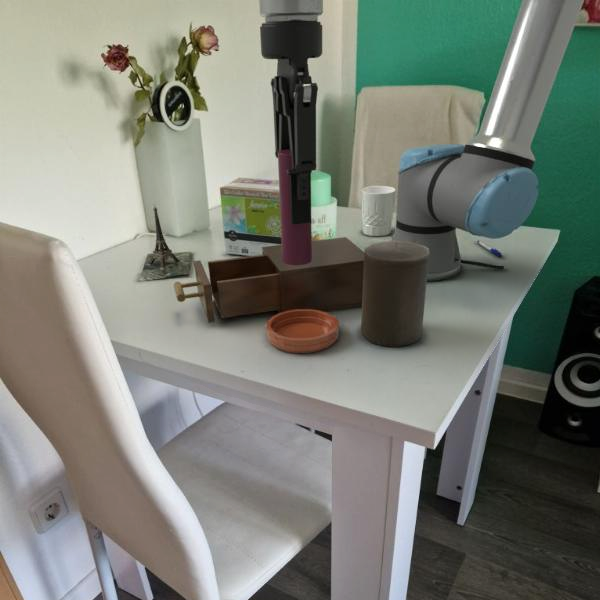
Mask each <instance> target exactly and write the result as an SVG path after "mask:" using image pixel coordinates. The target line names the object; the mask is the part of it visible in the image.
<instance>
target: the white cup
mask: <svg viewBox="0 0 600 600" xmlns="http://www.w3.org/2000/svg"><path fill="white" fill-rule="evenodd" d="M396 192H397V191H396V188H395V187H392V186H388V185H387V186H386V185H371V186H366V187H363V188H362V189H361V218H362V219H361V221H362V232H363V234H364V235H366V236H369V237H384V236H388V235H390V234H391V232H392V225H393V224H392V222H393V217H394V210H395V201H396Z"/></svg>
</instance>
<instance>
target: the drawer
mask: <svg viewBox="0 0 600 600" xmlns="http://www.w3.org/2000/svg"><path fill="white" fill-rule="evenodd" d="M193 266H194V274H195V280H196V281H191V282H186V283H185V282H184V283H181V282H180V281H175V282H174V283H173V289H174V292H175V293H174V294H175V296H176V300H177V302H180V303H183V302H184V301H186V299H195V298H199V301H200V305H201V307H202V310H203V313H204V315H205V319H206V320H207V323H208V324H211V323H216V316H215V310H214V309H215V308H214V304H215V305H216V308H217V311H218V313H219V315H220V318H221V319H224V318H232V317H239V316H244V315H245V316H246V315H252V314H259V313H265V312H272V311H273V312H274V311H278V310H281V294H280V275H279V273H278V271H277V270H276V269H275V267H274V266H273V265H272V263H271V262H270V260H269V259H268V258H267V256H266V255H265V254H264V255H256V256H241V257H240V256H239V257H233V258H232V257H231V258H225V259H217V260H216V259H215V260H208V261H207V267H208V275H207V272H206V270H205V267H204V266H203V263H202V261H201V260H200V259H199V260H194V261H193ZM208 276H209V277H208ZM193 287H197V288H196V289H197V292H191V293H185V291H184V288H193Z"/></svg>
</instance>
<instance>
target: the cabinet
mask: <svg viewBox="0 0 600 600" xmlns="http://www.w3.org/2000/svg"><path fill="white" fill-rule="evenodd" d="M264 254H265V255H266V256H267V258H268V259H269V260H270V262H271V263H272V265H273V266H274V267H275V269H276V270H277V271H278V273H279V275H280V294H281V310H277V312H278V314H279V313H282V312H285V311H289V310H295V309H313V310H320V311H323V312H332V311H340V310H346V309H352V308H353V309H354V308H359V307H362V296H363V273H364V251H363V250H362V249H361V248H360V247H359V246H357V244H355V243H354V242H353V241H352V240H350V239H349V238H348V237H346V236H343V237H335V238H327V239H319V240H312V261H311V262H310V263H308V264H304V265H288V264H285V263H283V261H282V245H276V246H267V247H262V255H264Z"/></svg>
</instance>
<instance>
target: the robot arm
mask: <svg viewBox="0 0 600 600" xmlns="http://www.w3.org/2000/svg"><path fill="white" fill-rule="evenodd" d="M584 2H585V0H522V1H521V4H520V7H519V10H518V12H517V16H516V19H515V22H514V25H513V28H512V31H511V34H510V37H509V41H508V43H507V47H506V49H505V52H504V55H503V58H502V61H501V65H500V67H499V71H498V74H497V76H496V80H495V82H494V85H493V88H492V91H491V95H490V97H489V101H488V103H487V106H486V109H485V112H484V116H483V119H482V122H481V125H480V128H479V131H478V133H477V134H476V135H475V136H474V137H472V138H470V139H469V140H468V141H466V142H465V145H463V144H460V143H458V144H457V143H455V144H453V143H452V144H451V143H450V144H437V145H425V146H419V147H412V148H408V149H406V150H405V151H404V152H403V153H402V154H401V156H400V161H399V170H398V171H397V174H398V179H397V197H396V199H397V200H396V217H395V219H396V221H395V229H394V233H393V235H392V237H391V240H390V241H402V242H412V243H417V244H419V245H423V246H426V247H427V248H429V263H428V274H427V282H430V281H433V282H434V281H441V280H442V281H443V280H445V279H450V278H452V277H455V276H457V275H458V274H459V273H460V270H461V266H462V265H471V266H476V267H483V268H489V269H493V270H504V269H505V265H500V264H499V265H498V264H492V263H486V262H480V261H473V260H466V259H462V258H461V257H462V256H461V253H460V252H461V251H460V248H459V242H458V238H457V233H456V232H457V231H456V230H457V229H458V230H461V231H463V232H466V233H469V234H470V235H472V236H477V237H483V238H486V239H492V240H494V239H495V240H497V239H502V238H504V237H507V236H509V235H511V234H512V233H513V232H514V231H516V230H518V229H519V228H520V227H521V226H522V225H523V224H524V223H525V222H526V220H527V219H528V217H529V216H530V214H531V213H532V212H533V210H534V207H535V205H536V202H537V199H538V196H539V188H538V185H539V179H538V177H537V175H536V174H535V173H534V172H533V171H532V170H533V167H534V165H535V161H536V158H535V156H534V153H533V152H532V148H531V145H532V143H533V140H534V137H535V135H536V132H537V129H538V127H539V124H540V121H541V118H542V116H543V113H544V110H545V108H546V105H547V101H548V99H549V96H550V94H551V91H552V89H553V86H554V84H555V81H556V77H557V75H558V73H559V70H560V66H561V64H562V62H563V59H564V56H565V53H566V50H567V48H568V45H569V43H570V40H571V37H572V34H573V31H574V29H575V26H576V23H577V21H578V18H579V15H580V13H581V10H582V7H583V4H584ZM258 4H259V5H258V6H259V16H260V17H261V18H264V22H262V23H261V26H259V33H260V35H259V36H260V37H259V38H260V52H261V56H262V58H263V59H265V60H277V64H276V65H277V67H276V68H277V69H276V75H275V76H273V77H271V81H270V86H271V94H272V105H273V107H272V108H273V126H274V129H273V130H274V149H275V150H274V155H275V157H276V159H278V151H281V150H286V149H290V153H291V165H292V168H291V170H286V172H287V175H290V207H291V223H292V224H301V223H311V224H312V172H313V171H317V101H318V91H319V87H318V84H317V83H316V82H313V80H312V76H311V75H310V71H309V63H308V62H309V59H317V58H320V57H321V56H322V54H323V24H322V22H321V21H319V16H322V15H323V13H324V0H258Z"/></svg>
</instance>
